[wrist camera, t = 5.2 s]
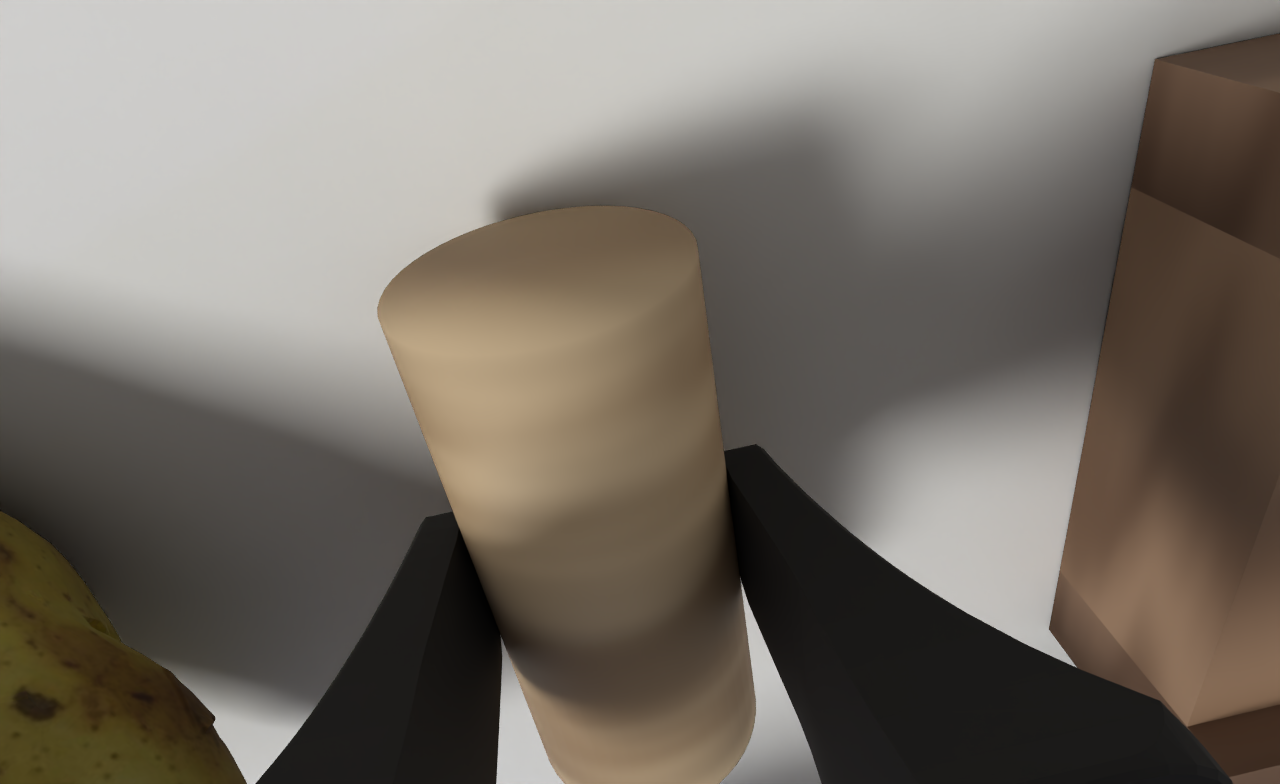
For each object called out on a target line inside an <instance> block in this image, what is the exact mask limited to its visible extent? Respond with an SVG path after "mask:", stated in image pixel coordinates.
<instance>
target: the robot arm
mask: <svg viewBox="0 0 1280 784" xmlns="http://www.w3.org/2000/svg"><path fill="white" fill-rule="evenodd" d="M724 456H725V464H726V472H727V480H728V488H729V495H730V503H731V511H732V519H733V527H734V535H735V542H736V550H737V558H738V566H739V574H740V578H741V581H742V584H743V587H744V590H745V594H746V597H747V600H748V603H749V605H750V608H751V610H752V612H753V615H754V617H755V619H756V622H757V624H758V626H759V629H760V631H761V633H762V636H763V638H764V640H765V643H766V645H767V647H768V649H769V652H770V654H771V656H772V659H773V661H774V663H775V666H776V668H777V670H778V672H779V675H780V677H781V679H782V682H783V684H784V686H785V689H786V691H787V693H788V695H789V698H790V700H791V702H792V705H793V707H794V709H795V712H796V714H797V716H798V718H799V721H800V723H801V726H802V728H803V731H804V734H805V736H806V739H807V741H808V744H809V746H810V749H811V752H812V755H813V758H814V761H815V764H816V767H817V770H818V773H819V776H820V780H821V783H822V784H1233V782H1232V780H1231V779H1230V778H1229V776H1228V775H1227V774H1226V773H1225V772H1224V770H1223V769H1222V768H1221V767H1220V765H1219V764H1218V763H1217V762H1216V761H1215V759H1214V758H1213V757H1212V756H1211V754H1210V753H1209V752H1208V751H1207V749H1206V748H1205V747H1204V746H1203V745H1202V744H1201V743H1200V742H1199V740H1198V739H1197V738H1196V737H1195V736H1194V735H1193V734H1192V733H1191V732H1190V730H1188V729H1187V728H1186V727H1185V726H1184V725H1183V724H1182V723H1181V722H1180V721H1179V720H1178V719H1177V718H1176V717H1175V716H1174V715H1173V714H1172V713H1171V712H1170V711H1169V710H1168V709H1167V708H1166V706H1165V705H1164V704H1163V703H1162V702H1161V701H1159V700H1157V699H1154V698H1152V697H1149V696H1147V695H1144V694H1142V693H1139V692H1137V691H1134V690H1131V689H1129V688H1126V687H1124V686H1121V685H1119V684H1116V683H1114V682H1111V681H1109V680H1106V679H1103V678H1101V677H1098V676H1096V675H1093V674H1091V673H1088V672H1086V671H1083V670H1081V669H1078V668H1076V667H1074V666H1071V665H1069V664H1067V663H1065V662H1063V661H1060V660H1058V659H1056V658H1054V657H1052V656H1050V655H1047V654H1045V653H1043V652H1041V651H1039V650H1037V649H1034V648H1032V647H1030V646H1028V645H1026V644H1024V643H1022V642H1020V641H1018V640H1016V639H1014V638H1012V637H1011V636H1009V635H1007V634H1005V633H1003V632H1001V631H999V630H997V629H996V628H994V627H992V626H990V625H988V624H986V623H984V622H982V621H981V620H979V619H977V618H975V617H973V616H971V615H969V614H967V613H966V612H964V611H962V610H961V609H959V608H957V607H956V606H954V605H952V604H951V603H949V602H948V601H946V600H944V599H943V598H941V597H939V596H938V595H936V594H934V593H933V592H931V591H930V590H928V589H927V588H925V587H924V586H922V585H921V584H919V583H918V582H916V581H915V580H913V579H912V578H910V577H909V576H907V575H906V574H904V573H903V572H902V571H900V570H899V569H897V568H896V567H895V566H893V565H892V564H890V563H889V562H888V561H886V560H885V559H884V558H882V557H881V556H880V555H878V554H877V553H876V552H874V551H873V550H872V549H871V548H869V547H868V546H867V545H865V544H864V543H863V542H862V541H860V540H859V539H858V538H857V537H855V536H854V535H853V534H852V533H850V532H849V531H848V530H847V529H846V528H844V527H843V526H842V525H841V524H840V523H839V522H837V521H836V520H835V519H834V518H833V517H832V516H831V515H830V514H828V513H827V512H826V511H825V510H824V509H823V508H822V507H820V506H819V505H818V504H817V503H816V502H815V501H814V500H813V499H812V498H811V497H809V496H808V495H807V494H806V493H805V492H804V491H803V490H802V489H801V488H800V487H799V486H798V485H797V484H796V483H795V482H794V481H793V480H792V479H791V478H790V477H789V476H788V475H787V474H786V473H785V472H784V471H783V470H782V469H781V468H780V467H779V466H778V465H777V464H776V463H775V461H774V460H773V459H772V458H771V457H770V456H769V455H768V454H767V453H766V451H765V450H764V449H763V448H761V447H759V446H758V445H756V444H755V445H751V446H746V447H742V448H737V449H733V450H728V451H724ZM501 673H502V649H501V634H500V632H499V629H498V626H497V624H496V621H495V619H494V616H493V614H492V611H491V608H490V606H489V603H488V601H487V598H486V595H485V593H484V590H483V588H482V585H481V583H480V580H479V577H478V575H477V572H476V570H475V567H474V565H473V562H472V559H471V557H470V554H469V552H468V549H467V546H466V544H465V541H464V539H463V536H462V534H461V531H460V528H459V526H458V523H457V521H456V518H455V515H454V513H453V512H449V513H444V514H440V515H435V516H431V517H426V518H425V520H424V521H423V522H422V524H421V526H420V528H419V530H418V532H417V534H416V536H415V538H414V540H413V542H412V544H411V546H410V548H409V550H408V552H407V554H406V556H405V558H404V560H403V562H402V564H401V566H400V568H399V570H398V572H397V574H396V576H395V577H394V579H393V581H392V583H391V585H390V587H389V589H388V591H387V592H386V594H385V596H384V598H383V600H382V602H381V603H380V605H379V607H378V609H377V611H376V612H375V614H374V616H373V618H372V620H371V621H370V623H369V625H368V627H367V628H366V630H365V632H364V633H363V635H362V637H361V638H360V640H359V642H358V643H357V645H356V646H355V648H354V650H353V651H352V653H351V654H350V656H349V658H348V659H347V661H346V662H345V664H344V666H343V667H342V669H341V670H340V672H339V674H338V675H337V677H336V678H335V680H334V681H333V683H332V684H331V686H330V687H329V689H328V690H327V692H326V693H325V695H324V696H323V698H322V699H321V700H320V702H319V703H318V705H317V706H316V708H315V709H314V710H313V712H312V713H311V715H310V716H309V717H308V719H307V720H306V721H305V723H304V724H303V725H302V727H301V728H300V729H299V731H298V732H297V733H296V735H295V736H294V737H293V739H292V740H291V741H290V743H289V744H288V745H287V746H286V748H285V749H284V750H283V751H282V753H281V754H280V755H279V756H278V757H277V759H276V760H275V761H274V762H273V764H272V765H271V766H270V767H269V768H268V769H267V771H266V772H265V773H264V774H263V775H262V777H261V778H260V779H259V780H258V781H257V782H256V784H496V776H497V756H498V736H499V717H500V696H501Z"/></svg>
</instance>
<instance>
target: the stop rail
mask: <svg viewBox="0 0 1280 784" xmlns="http://www.w3.org/2000/svg"><path fill="white" fill-rule="evenodd" d="M1049 630H1050V631H1051V633H1052V634H1053V635H1054V637H1055V638H1056V640H1057V641H1058V642H1059V644H1060V645H1061V646H1062V648H1063V649H1064V650H1065V652H1066V653H1067V654H1068V656H1069V657H1070V658H1071V660H1072V661H1073V663H1074V664H1075V665H1076V667H1077V668H1078V669H1081V670H1083V671H1086V672H1088V673H1091V674H1093V675H1096V676H1098V677H1101V678H1103V679H1106V680H1109V681H1111V682H1114V683H1116V684H1119V685H1121V686H1124V687H1126V688H1129V689H1131V690H1134V691H1137V692H1139V693H1142V694H1144V695H1147V696H1149V697H1152V698H1154V699H1157V700H1159V701H1161V702H1162V703H1163V704H1164V705H1165V706H1166V708H1167V709H1168V710H1169V711H1170V712H1171V713H1172V714H1173V715H1174V716H1175V717H1176V718H1177V719H1178V720H1179V721H1180V722H1181V723H1182V724H1183V725H1184V726H1185V727H1186V728H1187V729H1188V730H1190V732H1191V733H1192V734H1193V735H1194V736H1195V737H1196V738H1197V739H1198V740H1199V742H1200V743H1201V744H1202V745H1203V746H1204V747H1205V748H1206V749H1207V751H1208V752H1209V753H1210V754H1211V756H1212V757H1213V758H1214V759H1215V761H1216V762H1217V763H1218V764H1219V765H1220V767H1221V768H1222V769H1223V770H1224V772H1225V773H1226V774H1227V775H1228V776H1229V778H1230V779H1231V780H1232V782H1233V784H1280V33H1279V34H1275V35H1270V36H1265V37H1260V38H1255V39H1250V40H1246V41H1241V42H1236V43H1231V44H1226V45H1221V46H1217V47H1212V48H1207V49H1202V50H1197V51H1192V52H1188V53H1183V54H1178V55H1173V56H1168V57H1163V58H1159V59H1155V62H1154V67H1153V73H1152V78H1151V84H1150V89H1149V94H1148V100H1147V105H1146V110H1145V116H1144V121H1143V127H1142V132H1141V137H1140V143H1139V148H1138V153H1137V159H1136V164H1135V170H1134V175H1133V180H1132V186H1131V191H1130V196H1129V202H1128V207H1127V213H1126V218H1125V223H1124V229H1123V234H1122V239H1121V245H1120V250H1119V256H1118V261H1117V266H1116V272H1115V277H1114V282H1113V288H1112V293H1111V299H1110V304H1109V309H1108V315H1107V320H1106V325H1105V331H1104V336H1103V342H1102V347H1101V352H1100V358H1099V363H1098V368H1097V374H1096V379H1095V385H1094V390H1093V395H1092V401H1091V406H1090V411H1089V417H1088V422H1087V428H1086V433H1085V438H1084V444H1083V449H1082V454H1081V460H1080V465H1079V471H1078V476H1077V481H1076V487H1075V492H1074V497H1073V503H1072V508H1071V514H1070V519H1069V524H1068V530H1067V535H1066V540H1065V546H1064V551H1063V557H1062V562H1061V567H1060V573H1059V578H1058V583H1057V589H1056V594H1055V600H1054V605H1053V610H1052V616H1051V621H1050V626H1049Z"/></svg>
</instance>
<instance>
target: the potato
mask: <svg viewBox="0 0 1280 784" xmlns="http://www.w3.org/2000/svg"><path fill="white" fill-rule="evenodd" d="M214 721H215V716H214V715H213V714H212V713H211V712H210V711H209V710H208V709H207V708H206V707H205V706H204V705H203V704H202V702H201V701H200V700H199V699H198V698H197V697H196V696H195V695H194V694H193V693H192V692H191V691H190V690H189V689H188V688H187V687H186V686H184V685H183V684H182V683H181V682H180V681H179V680H178V679H177V678H176V677H175V675H174V674H173V673H172V672H171V671H169V670H167V669H165V668H164V667H162V666H160V665H159V664H157V663H155V662H154V661H152V660H151V659H149V658H148V657H146V656H144V655H143V654H141V653H139V652H137V651H135V650H133V649H132V648H130V647H128V646H126V645H125V644H123V643H121V640H120V638H119V635H118V634H117V632H116V630H115V629H114V627H113V626H112V624H111V623H110V621H109V619H108V618H107V616H106V615H105V613H104V612H103V610H102V608H101V607H100V605H99V604H98V602H97V601H96V599H95V598H94V596H93V595H92V593H91V592H90V590H89V588H88V587H87V585H86V584H85V582H84V581H83V580H82V578H81V577H80V576H79V575H78V573H77V572H76V571H75V569H74V568H73V567H72V566H71V564H70V563H69V562H68V561H67V560H66V559H65V557H64V556H63V555H62V554H61V553H60V552H59V551H58V550H57V549H56V548H55V547H54V546H53V545H52V544H51V543H49V542H48V541H47V540H45V539H44V538H42V537H41V536H39V535H38V534H37V533H35V532H34V531H32V530H31V529H29V528H28V527H27V526H25V525H24V524H22V523H21V522H19V521H18V520H16V519H14V518H12V517H11V516H9V515H7V514H5V513H3V512H2V511H0V784H247V783H246V781H245V779H244V777H243V775H242V773H241V771H240V769H239V768H238V766H237V764H236V762H235V760H234V758H233V756H232V755H231V753H230V751H229V750H228V748H227V746H226V745H225V743H224V742H223V741H222V740H221V738H220V737H219V735H218V733H217V732H216V730H215V728H214V726H213V723H214Z"/></svg>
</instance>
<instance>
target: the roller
mask: <svg viewBox="0 0 1280 784" xmlns="http://www.w3.org/2000/svg"><path fill="white" fill-rule="evenodd" d="M377 309H378V319H379V322H380V324H381V327H382V329H383V332H384V335H385V337H386V340H387V342H388V345H389V348H390V350H391V353H392V355H393V358H394V360H395V363H396V366H397V368H398V371H399V373H400V376H401V379H402V381H403V384H404V386H405V389H406V391H407V394H408V397H409V399H410V402H411V404H412V407H413V410H414V412H415V415H416V417H417V420H418V422H419V425H420V428H421V430H422V433H423V435H424V438H425V441H426V443H427V446H428V448H429V451H430V453H431V456H432V459H433V461H434V464H435V466H436V469H437V472H438V474H439V477H440V479H441V482H442V484H443V487H444V490H445V492H446V495H447V497H448V500H449V503H450V505H451V508H452V510H453V513H454V515H455V518H456V521H457V523H458V526H459V528H460V531H461V534H462V536H463V539H464V541H465V544H466V546H467V549H468V552H469V554H470V557H471V559H472V562H473V565H474V567H475V570H476V572H477V575H478V577H479V580H480V583H481V585H482V588H483V590H484V593H485V595H486V598H487V601H488V603H489V606H490V608H491V611H492V614H493V616H494V619H495V621H496V624H497V626H498V629H499V632H500V634H501V637H502V639H503V642H504V645H505V647H506V650H507V652H508V655H509V657H510V660H511V663H512V665H513V668H514V670H515V673H516V676H517V678H518V681H519V683H520V686H521V688H522V691H523V694H524V696H525V699H526V701H527V704H528V707H529V709H530V712H531V714H532V717H533V719H534V722H535V725H536V727H537V730H538V732H539V735H540V738H541V740H542V743H543V745H544V748H545V750H546V753H547V756H548V758H549V761H550V763H551V765H552V767H553V768H554V770H555V772H556V773H557V775H558V776H559V777H560V778H561V780H562V781H563V782H564V783H565V784H719V783H720V782H721V781H722V780H723V779H724V778H725V777H726V776H727V775H728V774H729V773H730V772H731V771H732V769H733V768H734V767H735V766H736V765H737V763H738V762H739V760H740V758H741V757H742V755H743V753H744V752H745V750H746V747H747V745H748V743H749V741H750V738H751V735H752V731H753V728H754V723H755V715H756V699H755V691H754V683H753V675H752V668H751V660H750V652H749V644H748V636H747V628H746V621H745V613H744V605H743V597H742V589H741V581H740V574H739V566H738V558H737V550H736V542H735V535H734V527H733V519H732V511H731V503H730V495H729V488H728V480H727V472H726V464H725V456H724V449H723V441H722V433H721V425H720V417H719V409H718V402H717V394H716V386H715V378H714V370H713V362H712V355H711V347H710V339H709V331H708V323H707V316H706V308H705V300H704V292H703V284H702V276H701V269H700V261H699V253H698V246H697V242H696V239H695V237H694V235H693V233H692V232H691V231H690V230H689V229H688V228H687V227H686V226H685V225H684V224H682V223H681V222H679V221H678V220H676V219H674V218H672V217H669V216H667V215H665V214H662V213H658V212H655V211H651V210H646V209H641V208H634V207H625V206H582V207H570V208H561V209H554V210H548V211H542V212H537V213H532V214H527V215H522V216H518V217H515V218H511V219H507V220H503V221H500V222H497V223H493V224H490V225H487V226H484V227H481V228H479V229H476V230H473V231H470V232H468V233H466V234H463V235H461V236H459V237H456V238H454V239H452V240H450V241H448V242H446V243H444V244H441V245H439V246H438V247H436V248H434V249H432V250H431V251H429V252H427V253H425V254H424V255H422V256H421V257H419V258H418V259H416V260H415V261H413V262H412V263H411V264H409V265H408V266H407V267H406V268H404V269H403V270H402V271H401V272H400V273H399V274H398V275H397V276H396V277H395V278H394V279H393V280H392V281H391V282H390V283H389V285H388V286H387V287H386V288H385V290H384V292H383V294H382V296H381V298H380V300H379V304H378V308H377Z"/></svg>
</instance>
